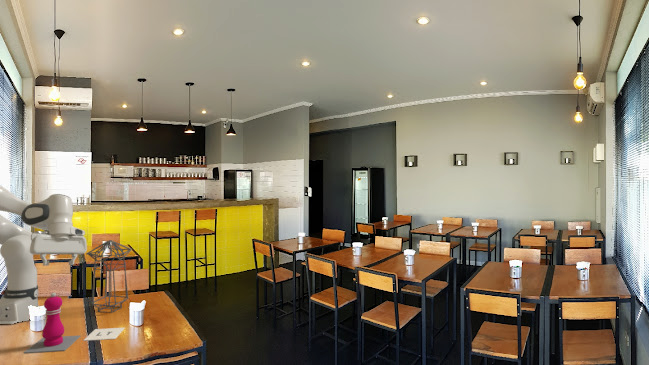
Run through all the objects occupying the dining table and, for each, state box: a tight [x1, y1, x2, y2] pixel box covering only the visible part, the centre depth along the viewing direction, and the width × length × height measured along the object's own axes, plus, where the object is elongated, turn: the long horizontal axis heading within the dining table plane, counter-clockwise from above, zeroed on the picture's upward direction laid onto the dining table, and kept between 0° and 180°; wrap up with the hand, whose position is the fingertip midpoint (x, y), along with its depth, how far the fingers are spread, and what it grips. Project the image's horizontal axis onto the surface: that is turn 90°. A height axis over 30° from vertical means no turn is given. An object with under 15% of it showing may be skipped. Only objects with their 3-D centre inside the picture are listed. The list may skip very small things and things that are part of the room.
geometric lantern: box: [85, 239, 133, 314], centre depth 196 cm, size 16×16×35 cm
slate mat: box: [22, 335, 81, 354], centre depth 155 cm, size 14×14×1 cm
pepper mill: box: [41, 292, 65, 347], centre depth 155 cm, size 7×7×20 cm
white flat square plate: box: [82, 327, 125, 342], centre depth 166 cm, size 12×12×1 cm
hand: (59, 265), depth 161 cm, fingers open, 8 cm apart
